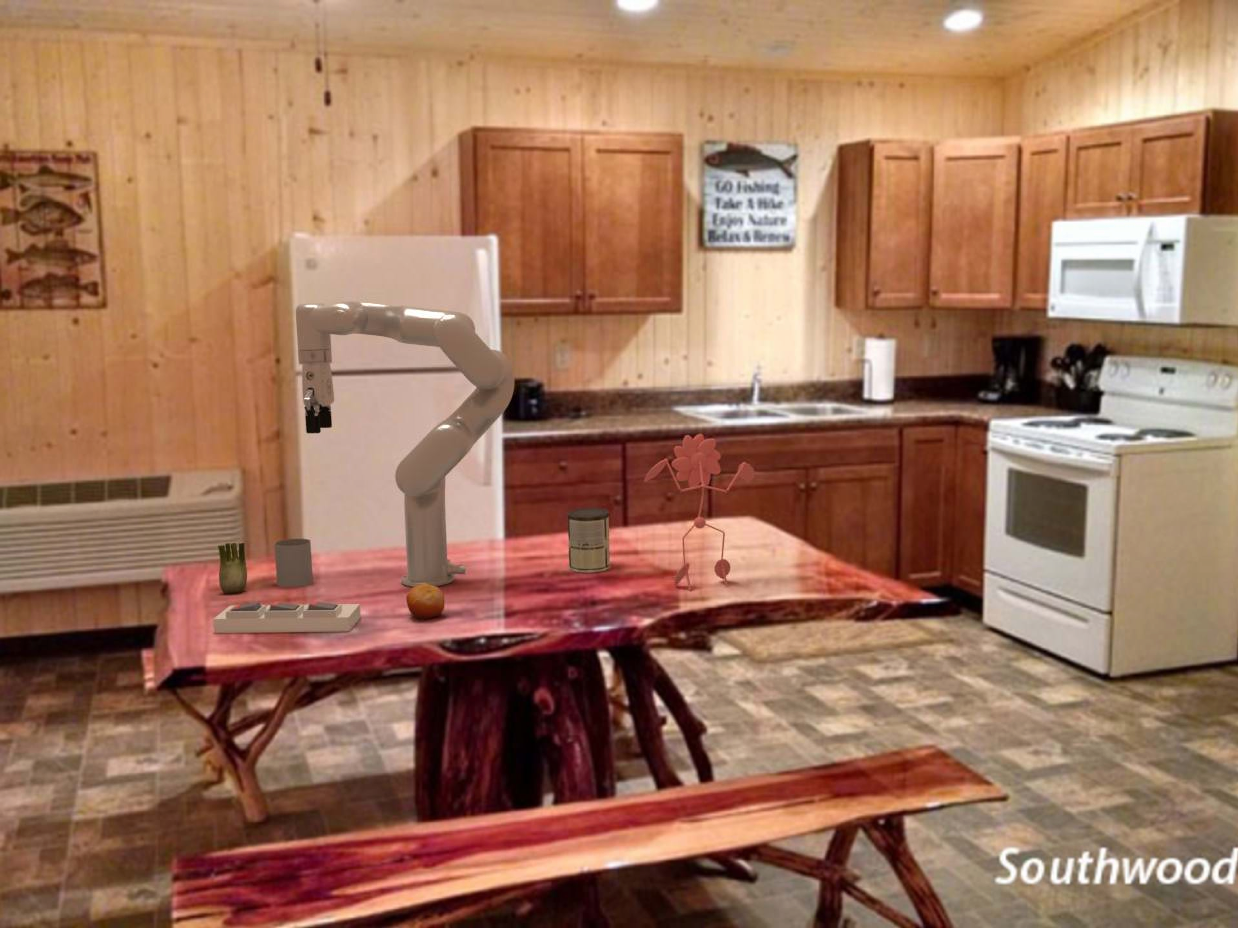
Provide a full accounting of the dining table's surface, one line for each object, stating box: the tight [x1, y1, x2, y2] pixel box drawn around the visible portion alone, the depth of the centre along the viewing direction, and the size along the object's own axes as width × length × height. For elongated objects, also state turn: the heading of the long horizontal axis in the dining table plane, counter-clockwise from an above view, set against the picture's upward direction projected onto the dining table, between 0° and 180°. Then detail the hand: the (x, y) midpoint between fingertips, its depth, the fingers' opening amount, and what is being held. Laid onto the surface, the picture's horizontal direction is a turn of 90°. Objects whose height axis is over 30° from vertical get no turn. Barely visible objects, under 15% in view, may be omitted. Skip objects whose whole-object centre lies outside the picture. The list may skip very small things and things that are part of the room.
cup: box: [274, 538, 314, 589], centre depth 285 cm, size 8×8×10 cm
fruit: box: [405, 583, 445, 621], centre depth 255 cm, size 8×8×8 cm
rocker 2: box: [308, 600, 338, 610], centre depth 248 cm, size 5×3×1 cm, turn 89°
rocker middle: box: [270, 600, 299, 611], centre depth 248 cm, size 5×3×1 cm, turn 89°
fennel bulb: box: [217, 541, 248, 594], centre depth 277 cm, size 6×5×12 cm
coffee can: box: [566, 507, 611, 574], centre depth 293 cm, size 10×10×14 cm
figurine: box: [643, 433, 755, 592], centre depth 277 cm, size 15×26×35 cm, turn 109°
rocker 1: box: [231, 601, 261, 611], centre depth 248 cm, size 5×3×1 cm, turn 88°
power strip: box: [213, 603, 362, 634], centre depth 250 cm, size 28×10×4 cm, turn 89°
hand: (319, 430), depth 279 cm, fingers open, 9 cm apart
